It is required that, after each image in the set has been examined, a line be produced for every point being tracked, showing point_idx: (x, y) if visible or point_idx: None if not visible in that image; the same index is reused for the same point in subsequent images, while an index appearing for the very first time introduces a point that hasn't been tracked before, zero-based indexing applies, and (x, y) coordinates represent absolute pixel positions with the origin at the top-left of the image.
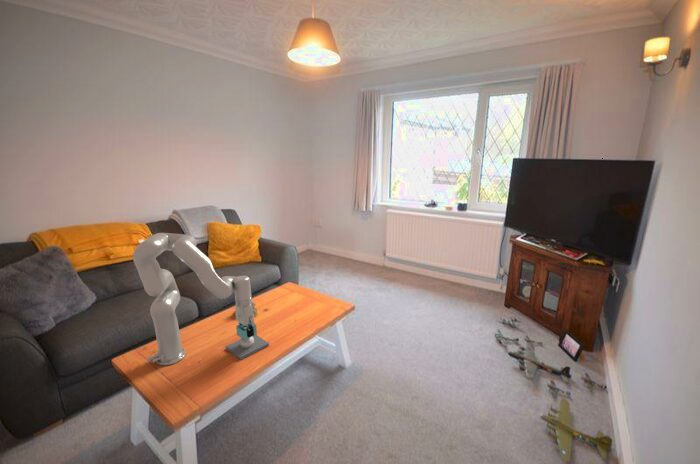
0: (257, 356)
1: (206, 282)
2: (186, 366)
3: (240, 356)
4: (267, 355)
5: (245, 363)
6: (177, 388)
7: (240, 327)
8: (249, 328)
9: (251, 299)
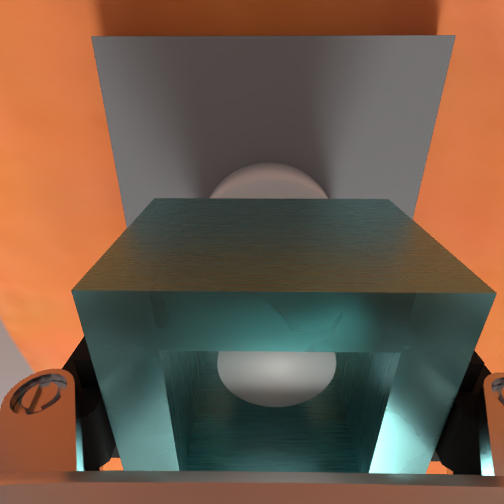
0: (69, 199)
1: None
2: None
3: (108, 52)
4: (35, 260)
5: (20, 51)
6: None
7: (312, 327)
8: (1, 431)
9: None
